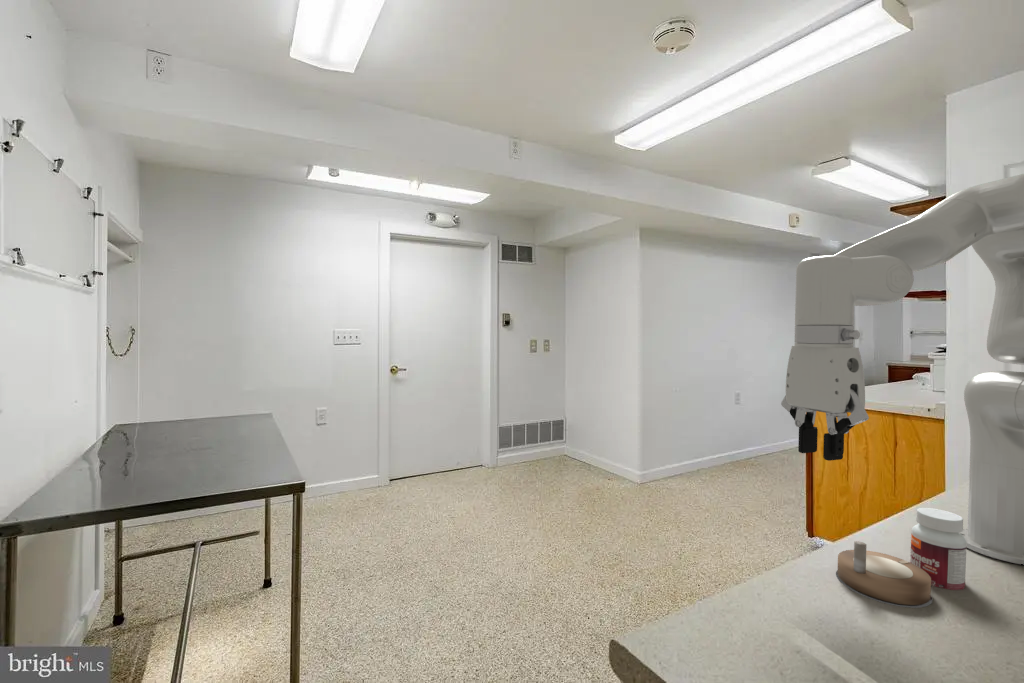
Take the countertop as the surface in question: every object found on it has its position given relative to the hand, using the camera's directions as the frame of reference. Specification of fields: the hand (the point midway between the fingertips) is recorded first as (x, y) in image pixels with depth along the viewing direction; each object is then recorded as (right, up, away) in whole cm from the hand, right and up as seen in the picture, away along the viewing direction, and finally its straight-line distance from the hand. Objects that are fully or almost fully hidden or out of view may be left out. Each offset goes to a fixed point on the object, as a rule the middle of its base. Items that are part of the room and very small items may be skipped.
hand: (820, 454), depth 73 cm
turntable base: (+6, -19, -4) cm, 21 cm away
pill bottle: (+16, -20, -2) cm, 25 cm away
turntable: (+6, -18, -4) cm, 19 cm away
